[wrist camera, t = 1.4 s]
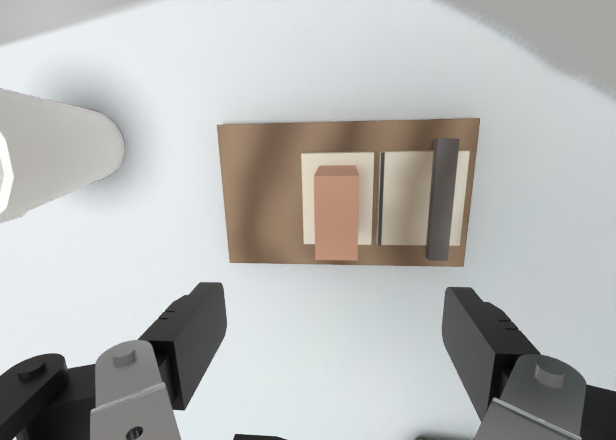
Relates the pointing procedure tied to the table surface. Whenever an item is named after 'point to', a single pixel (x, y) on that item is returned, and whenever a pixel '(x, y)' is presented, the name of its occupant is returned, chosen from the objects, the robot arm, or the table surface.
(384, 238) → the stand
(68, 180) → the foam cup
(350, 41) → the table surface
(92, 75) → the table surface
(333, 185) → the stub
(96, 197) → the table surface
